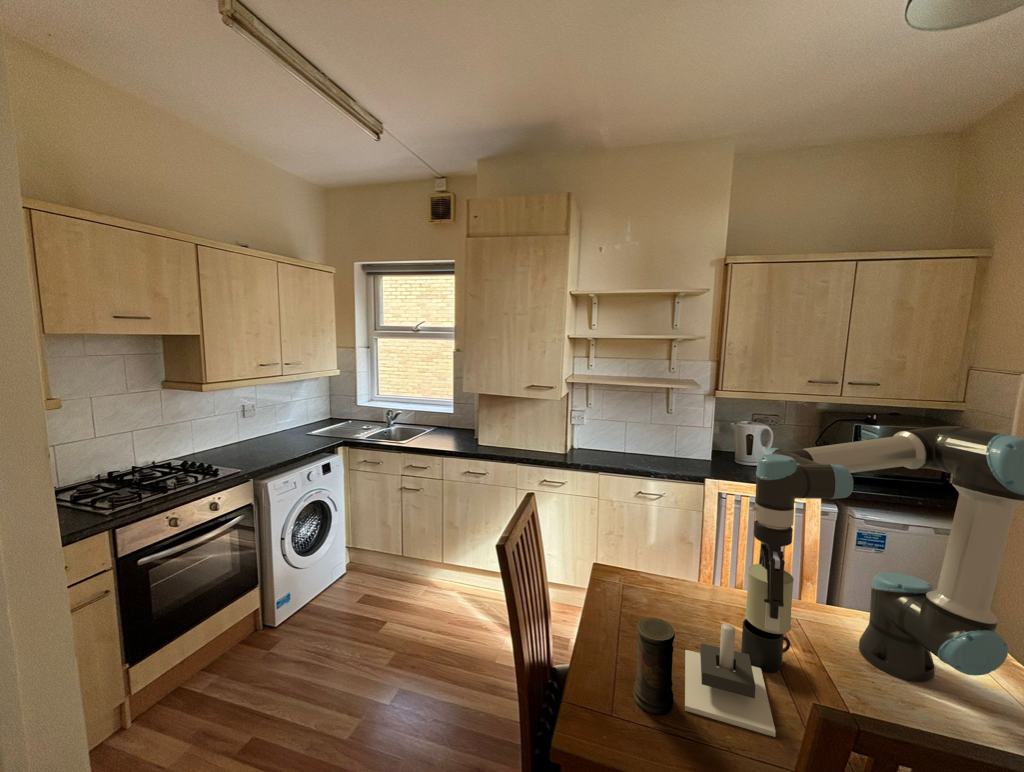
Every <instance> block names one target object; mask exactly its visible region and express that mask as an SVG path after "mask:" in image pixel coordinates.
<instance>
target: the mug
mask: <svg viewBox="0 0 1024 772" xmlns="http://www.w3.org/2000/svg"><path fill="white" fill-rule="evenodd" d="M784 634H785V633H784ZM784 634H774V633H769V632H766V631H763V630H761V629H758V628H757V627H755V626H753V625H752V624H751V623H750V622H749V621H748V620H747V619H746V618H745V619H744V620H743V621H742V633H741V651H740V652H741V653H745V654H749V657H750V662H751V666H754V667H758V668H761V671H762V673H763V672H764V673H769V674H771V673H777V672H779V671H780V670H781V669H782V667H783V654H784V653H786V652H788V651H789V649H790V648H791V641H790V639H789V638H788V637H786V636H785V635H784ZM784 641H785V642H786V645H785V646H784Z"/></svg>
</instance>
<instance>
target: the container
mask: <svg viewBox="0 0 1024 772" xmlns="http://www.w3.org/2000/svg"><path fill="white" fill-rule="evenodd" d="M636 626H637V627H636V628H637V629H636V630H637V634H638V639H637V664H636V673H635V677H636V678H635V681H634V683H633V698H634V700H635V702H636V704H637V705H638V706H639V707H640V708H641V709H642V710H645V711H646V712H647V713H650V714H653V715H658V716H659V715H666V714H668V713H670V712H671V711H672V709H673V708H674V705H675V703H674V702H675V701H674V692H673V685H674V684H673V678H672V677H673V659H674V658H673V657H674V655H673V654H674V641H675V638H676V632H675V629H674V627H673V626H672V625H671V624H670V623H669V622H667V621H665V620H664V619H661V618H658V617H653V616H651V617H644V618H641V619H640V620H639V622H638V623H637V625H636Z"/></svg>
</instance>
